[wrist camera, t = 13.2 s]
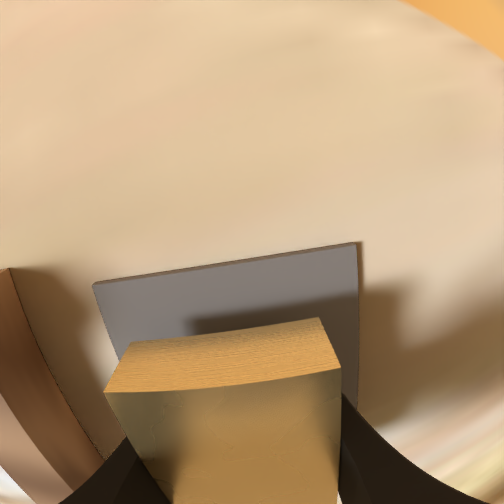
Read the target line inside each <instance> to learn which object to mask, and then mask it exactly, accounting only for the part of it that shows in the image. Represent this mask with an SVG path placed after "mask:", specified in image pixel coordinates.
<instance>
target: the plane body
mask: <svg viewBox="0 0 504 504" xmlns="http://www.w3.org/2000/svg"><path fill="white" fill-rule="evenodd" d="M104 462H105V461H104V460H103V458H102V457H101V456H100V454H99V453H98V451H97V450H96V448H95V447H94V445H93V444H92V443H91V441H90V440H89V438H88V436H87V435H86V433H85V432H84V430H83V429H82V427H81V426H80V424H79V422H78V421H77V419H76V417H75V416H74V414H73V412H72V411H71V409H70V407H69V406H68V404H67V402H66V400H65V399H64V397H63V395H62V393H61V391H60V389H59V388H58V386H57V384H56V382H55V380H54V378H53V376H52V374H51V372H50V370H49V368H48V366H47V364H46V362H45V360H44V358H43V356H42V354H41V351H40V349H39V347H38V345H37V343H36V340H35V338H34V336H33V333H32V331H31V329H30V326H29V324H28V321H27V319H26V316H25V314H24V311H23V309H22V306H21V303H20V301H19V298H18V295H17V292H16V289H15V286H14V283H13V280H12V277H11V274H10V271H9V268H7V269H2V270H0V465H1V467H2V468H3V469H4V470H5V471H6V472H7V473H8V475H9V476H10V477H11V478H12V479H13V480H14V481H15V482H16V483H17V484H18V485H19V487H20V488H21V489H22V490H23V491H24V492H25V493H26V494H27V495H28V496H29V497H30V498H31V499H32V500H33V501H34V502H35V503H36V504H58V503H60V502H61V501H63V500H64V499H65V498H67V497H68V496H69V495H70V494H72V493H73V492H74V491H75V490H77V489H78V488H79V487H80V486H81V485H82V484H83V483H85V482H86V481H87V480H88V479H89V478H90V477H91V476H92V475H93V474H94V473H95V472H96V471H97V470H98V469H99V468H100V466H101V465H102V464H103V463H104Z"/></svg>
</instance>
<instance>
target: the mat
mask: <svg viewBox="0 0 504 504" xmlns="http://www.w3.org/2000/svg"><path fill="white" fill-rule="evenodd" d="M92 287H93V291H94V294H95V297H96V300H97V303H98V306H99V309H100V312H101V315H102V317H103V320H104V323H105V326H106V328H107V331H108V334H109V337H110V339H111V342H112V344H113V347H114V349H115V352H116V354H117V357H118V359H119V362H120V360H121V358H122V357H123V355H124V353H125V351H126V349H127V347H128V346H129V344H130V342H134V341H145V340H156V339H167V338H176V337H185V336H194V335H203V334H211V333H219V332H226V331H234V330H241V329H248V328H255V327H261V326H268V325H274V324H280V323H286V322H292V321H298V320H304V319H310V318H315V317H319V319H320V321H321V323H322V325H323V328H324V330H325V332H326V334H327V336H328V339H329V341H330V343H331V345H332V348H333V350H334V352H335V354H336V357H337V359H338V361H339V363H340V366H341V392H342V393H343V394H345V396H346V397H347V398H348V400H349V401H350V402H351V404H352V405H353V406H354V407H355V409H356V410H357V397H358V371H359V294H358V268H357V249H356V244H354V243H353V242H352V243H346V244H340V245H333V246H327V247H321V248H314V249H308V250H302V251H295V252H289V253H283V254H276V255H270V256H264V257H257V258H251V259H244V260H238V261H231V262H225V263H219V264H212V265H206V266H199V267H192V268H186V269H179V270H173V271H166V272H160V273H153V274H146V275H140V276H133V277H126V278H120V279H113V280H106V281H100V282H95V283H94V284H93V285H92Z"/></svg>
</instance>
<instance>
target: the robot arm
mask: <svg viewBox="0 0 504 504" xmlns="http://www.w3.org/2000/svg"><path fill="white" fill-rule="evenodd" d="M338 492H339V495H340V498H341V501H342V504H489V503H486V502H483V501H481V500H478V499H476V498H473V497H471V496H468V495H466V494H464V493H462V492H460V491H458V490H456V489H454V488H452V487H450V486H448V485H446V484H444V483H442V482H441V481H439V480H437V479H436V478H434V477H432V476H431V475H429V474H428V473H426V472H425V471H423V470H422V469H420V468H419V467H417V466H416V465H414V464H413V463H412V462H410V461H409V460H408V459H407V458H405V457H404V456H403V455H402V454H400V453H399V452H398V451H397V450H396V449H395V448H393V447H392V446H391V445H390V444H389V443H388V442H387V441H386V440H385V439H384V438H382V437H381V436H380V435H379V434H378V433H377V432H376V431H375V430H374V429H373V428H372V427H371V425H370V424H369V423H368V422H367V421H366V420H365V419H364V418H363V417H362V416H361V414H360V413H359V412H358V411H357V410H356V409H355V407H354V406H353V405H352V404H351V402H350V401H349V400H348V398H347V397H346V396H345V394H343V393H342V392H341V440H340V463H339V480H338ZM58 504H171V503H170V501H169V500H168V499H167V497H166V496H165V494H164V493H163V492H162V490H161V489H160V487H159V486H158V485H157V483H156V482H155V480H154V479H153V477H152V476H151V474H150V473H149V471H148V470H147V468H146V467H145V465H144V464H143V462H142V460H141V459H140V457H139V456H138V454H137V452H136V451H135V449H134V448H133V446H132V444H131V443H130V441H129V439H128V437H127V436H126V438H125V439H124V440H123V441H122V443H121V444H120V445H119V446H118V447H117V449H116V450H115V451H114V452H113V453H112V454H111V456H110V457H109V458H108V459H107V460H106V461H105V462H104V463H103V464H102V465H101V466H100V468H99V469H98V470H97V471H96V472H95V473H94V474H93V475H92V476H91V477H90V478H89V479H88V480H87V481H86V482H85V483H83V484H82V485H81V486H80V487H79V488H78V489H77V490H75V491H74V492H73V493H72V494H70V495H69V496H68V497H67V498H65V499H64V500H63V501H61V502H60V503H58Z"/></svg>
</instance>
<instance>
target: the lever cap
mask: <svg viewBox="0 0 504 504" xmlns="http://www.w3.org/2000/svg"><path fill="white" fill-rule="evenodd" d="M103 393H104V395H105V397H106V399H107V401H108V403H109V405H110V407H111V409H112V410H113V412H114V414H115V416H116V418H117V420H118V422H119V423H120V425H121V427H122V429H123V430H124V432H125V434H126V436H127V437H128V439H129V441H130V443H131V444H132V446H133V448H134V449H135V451H136V452H137V454H138V456H139V457H140V459H141V460H142V462H143V464H144V465H145V467H146V468H147V470H148V471H149V473H150V474H151V476H152V477H153V479H154V480H155V482H156V483H157V485H158V486H159V487H160V489H161V490H162V492H163V493H164V494H165V496H166V497H167V499H168V500H169V501H170V503H171V504H337V494H338V480H339V463H340V440H341V366H340V363H339V361H338V359H337V357H336V354H335V352H334V350H333V348H332V345H331V343H330V341H329V339H328V336H327V334H326V332H325V330H324V328H323V325H322V323H321V321H320V319H319V317H315V318H310V319H304V320H298V321H292V322H286V323H280V324H274V325H268V326H261V327H255V328H248V329H241V330H234V331H226V332H219V333H211V334H203V335H194V336H185V337H176V338H167V339H156V340H145V341H134V342H130V344H129V346H128V347H127V349H126V351H125V353H124V355H123V357H122V358H121V360H120V362H119V364H118V366H117V368H116V369H115V371H114V373H113V375H112V377H111V379H110V381H109V382H108V384H107V386H106V388H105V390H104V392H103Z"/></svg>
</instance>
